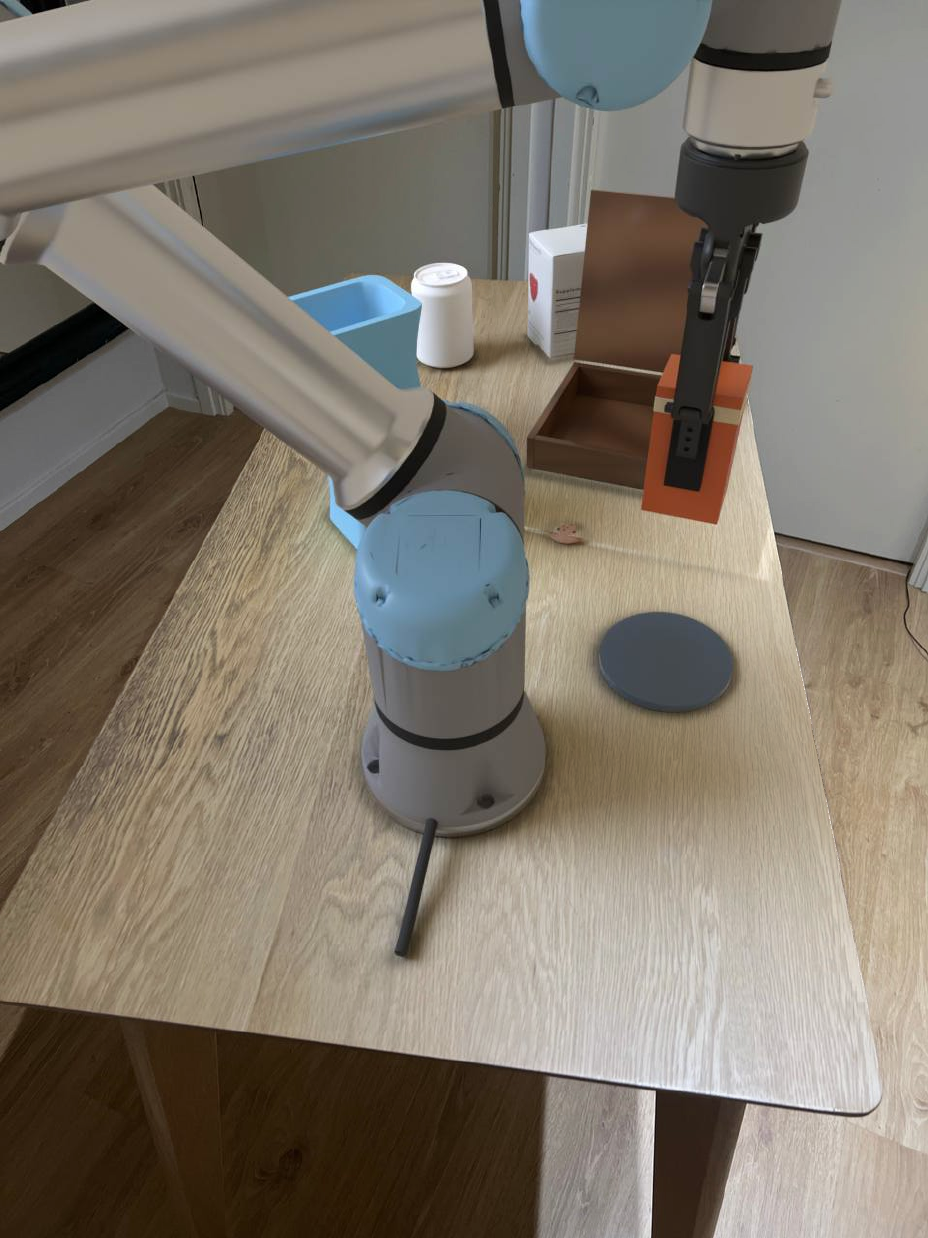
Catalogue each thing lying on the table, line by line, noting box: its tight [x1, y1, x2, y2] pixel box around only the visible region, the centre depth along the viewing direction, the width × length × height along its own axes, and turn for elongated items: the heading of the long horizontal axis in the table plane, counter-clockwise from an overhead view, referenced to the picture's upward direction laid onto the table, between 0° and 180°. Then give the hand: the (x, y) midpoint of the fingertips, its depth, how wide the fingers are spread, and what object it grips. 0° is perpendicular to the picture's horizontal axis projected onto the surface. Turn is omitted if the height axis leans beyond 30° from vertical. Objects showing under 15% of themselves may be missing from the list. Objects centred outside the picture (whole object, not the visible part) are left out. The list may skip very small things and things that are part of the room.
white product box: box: [527, 222, 588, 358], centre depth 122 cm, size 9×9×15 cm
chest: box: [525, 361, 662, 491], centre depth 106 cm, size 19×16×5 cm
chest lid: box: [573, 188, 708, 374], centre depth 107 cm, size 20×16×5 cm
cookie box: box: [640, 354, 754, 525], centre depth 68 cm, size 5×6×11 cm
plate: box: [598, 611, 734, 713], centre depth 81 cm, size 12×12×1 cm
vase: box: [287, 274, 422, 550], centre depth 90 cm, size 10×10×25 cm
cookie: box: [547, 523, 583, 544], centre depth 95 cm, size 4×4×1 cm
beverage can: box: [410, 262, 475, 369], centre depth 121 cm, size 8×8×12 cm
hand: (689, 464), depth 69 cm, fingers closed on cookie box, 5 cm apart
